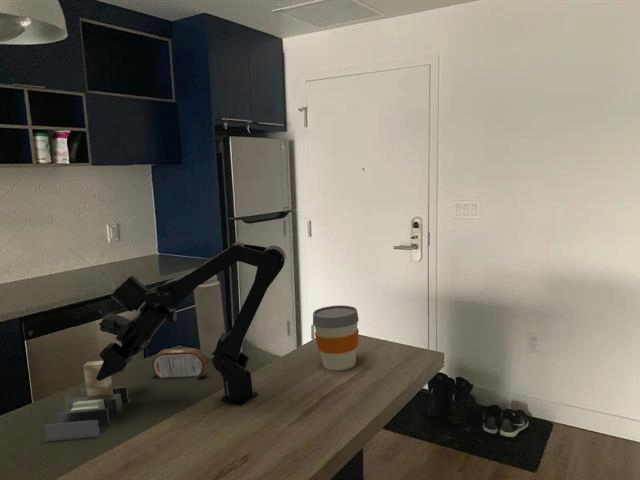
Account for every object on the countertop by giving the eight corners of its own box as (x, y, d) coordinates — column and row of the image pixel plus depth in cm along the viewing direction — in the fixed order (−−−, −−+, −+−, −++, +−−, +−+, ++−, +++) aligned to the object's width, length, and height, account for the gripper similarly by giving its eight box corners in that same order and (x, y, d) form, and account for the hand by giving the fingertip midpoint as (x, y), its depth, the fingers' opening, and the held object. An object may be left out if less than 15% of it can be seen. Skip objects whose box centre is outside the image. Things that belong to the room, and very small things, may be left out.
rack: (131, 403, 123) (128, 386, 122) (101, 440, 106) (98, 420, 105) (82, 407, 123) (80, 390, 122) (45, 445, 105) (41, 425, 105)
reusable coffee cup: (320, 356, 144) (315, 306, 143) (363, 355, 143) (359, 304, 141) (313, 373, 132) (308, 319, 130) (360, 372, 130) (356, 317, 128)
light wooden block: (114, 403, 122) (108, 360, 120) (110, 407, 119) (104, 363, 118) (94, 405, 122) (87, 361, 120) (89, 409, 119) (83, 365, 118)
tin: (209, 375, 137) (206, 346, 136) (205, 380, 134) (202, 350, 133) (157, 377, 139) (153, 348, 138) (152, 382, 136) (148, 352, 135)
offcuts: (105, 415, 115) (103, 397, 115) (99, 423, 112) (96, 404, 111) (80, 417, 115) (77, 399, 115) (72, 425, 112) (69, 407, 111)
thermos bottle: (212, 348, 160) (202, 262, 156) (232, 350, 156) (222, 262, 153) (196, 357, 153) (185, 267, 149) (217, 359, 149) (206, 267, 146)
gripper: (133, 293, 127) (95, 338, 128) (103, 313, 108) (59, 365, 109) (167, 320, 128) (129, 365, 129) (143, 344, 109) (100, 396, 110)
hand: (105, 371), depth 119 cm, fingers open, 9 cm apart
